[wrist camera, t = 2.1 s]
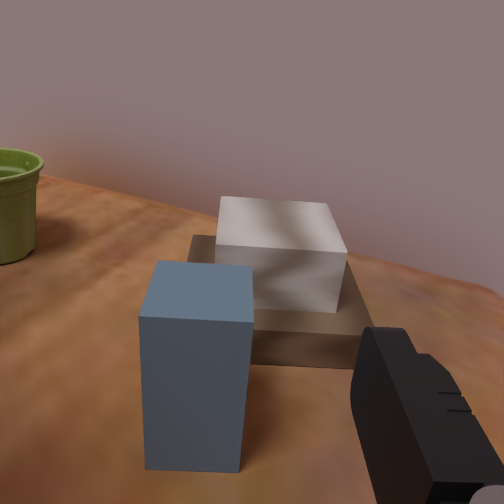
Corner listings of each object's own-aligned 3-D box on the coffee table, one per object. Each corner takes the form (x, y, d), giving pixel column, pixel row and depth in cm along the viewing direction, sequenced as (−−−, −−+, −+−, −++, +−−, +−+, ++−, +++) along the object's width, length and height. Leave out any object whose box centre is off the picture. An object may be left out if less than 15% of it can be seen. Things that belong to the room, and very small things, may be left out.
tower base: (172, 359, 32) (172, 259, 28) (192, 262, 44) (194, 184, 41) (369, 369, 33) (394, 273, 29) (335, 271, 45) (349, 195, 42)
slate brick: (145, 469, 24) (138, 316, 20) (160, 399, 29) (157, 260, 24) (239, 473, 25) (254, 322, 20) (239, 402, 29) (252, 266, 25)
